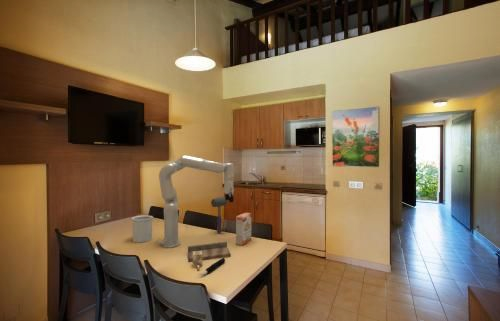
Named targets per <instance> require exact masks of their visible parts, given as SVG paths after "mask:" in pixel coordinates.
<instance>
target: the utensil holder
mask: <svg viewBox="0 0 500 321" xmlns="http://www.w3.org/2000/svg"><path fill="white" fill-rule="evenodd" d="M153 219H154V216H153V215H138V216H134V217H132V218H131V221H132V222H131V224H132V243H136V244H137V243H146V242H149V241H151V240H152V239H153Z"/></svg>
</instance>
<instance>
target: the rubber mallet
mask: <svg viewBox="0 0 500 321" xmlns="http://www.w3.org/2000/svg"><path fill="white" fill-rule="evenodd" d="M210 204H211V206H212V208H217V216H216V222H217V223H216V224H217V229H216V230H217V234H221V233H222V230H223V229H222V222H223V221H222V210H221V207H223V206H226V205H227V204H228V200H225V196H221V197H215V198H212V199H211V202H210Z"/></svg>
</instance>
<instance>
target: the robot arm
mask: <svg viewBox="0 0 500 321" xmlns="http://www.w3.org/2000/svg"><path fill="white" fill-rule="evenodd" d="M184 168H190V169H195V170H199V171H207V172H211V173H216V174H222V173H223V183H224V187H223V192H224V197H225V200H227V201H228V203H234V191H235V190H234V182H235V172H234V171H235V166H234V163H233V162H226V163H225V162H224V163H223V162H216V161H212V160H209V159H205V158H200V157H195V156H192V155H187V154H183V155H181V156H180V157H179V158H177V159H175V160H173V161H172V162H168V163H166V164H164V165H163V167H161V168H160V171H159V174H158V180H159V186H160V191H161V192H160V193H161V197H162V199H163V200H164V204H165V205H164V206H163V224H164V226H163V227H164V228H163V230H164V232H163V233H164V238H163V239H159V240H157V243H158V244H160V245H161V244H162V248H169V249H170V248H171V249H172V248H176V247H179V246H180V245H181V241H180V240H179V213H178V211H179V210H178V209H179V205H180V204H179V198H178V195H177V190H176V188H175V187H174V185H173V184H174V183H173V180H172V175H174V174H176V173H178V172H179V171H181V170H183V169H184Z"/></svg>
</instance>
